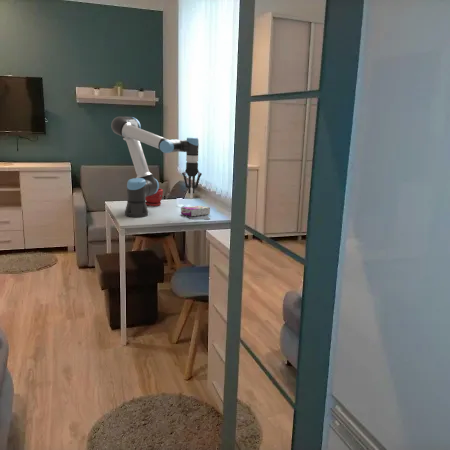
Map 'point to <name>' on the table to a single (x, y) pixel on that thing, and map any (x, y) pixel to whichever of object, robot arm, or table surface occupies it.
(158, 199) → the plant pot
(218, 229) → the table surface
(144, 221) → the table surface
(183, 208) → the candy bar box
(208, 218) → the rubber mat
